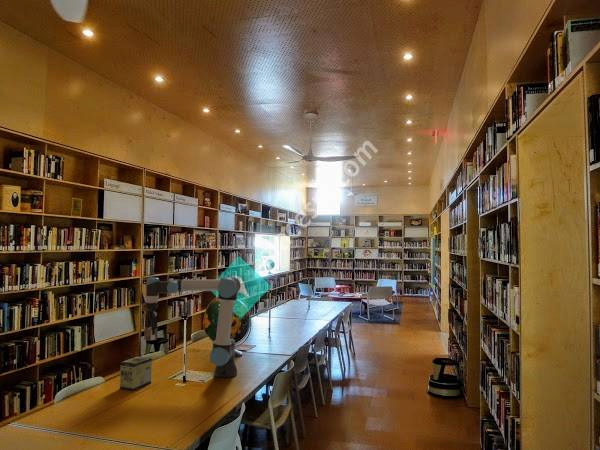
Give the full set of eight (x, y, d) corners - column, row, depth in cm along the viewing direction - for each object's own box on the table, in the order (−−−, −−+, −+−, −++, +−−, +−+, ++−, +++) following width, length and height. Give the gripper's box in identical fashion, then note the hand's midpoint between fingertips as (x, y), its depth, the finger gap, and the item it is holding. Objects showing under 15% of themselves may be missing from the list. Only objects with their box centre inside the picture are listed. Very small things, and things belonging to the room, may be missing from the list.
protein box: (119, 389, 242) (120, 362, 243) (138, 381, 256) (138, 355, 257) (133, 391, 238) (134, 364, 239) (151, 383, 253) (152, 357, 254)
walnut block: (157, 339, 260) (157, 328, 261) (147, 340, 256) (148, 329, 257) (153, 337, 265) (153, 326, 265) (144, 339, 261) (144, 328, 261)
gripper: (163, 303, 257) (162, 340, 256) (151, 300, 271) (150, 335, 270) (152, 304, 252) (150, 342, 251) (140, 300, 266) (138, 337, 265)
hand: (150, 338), depth 260 cm, fingers closed on walnut block, 6 cm apart
